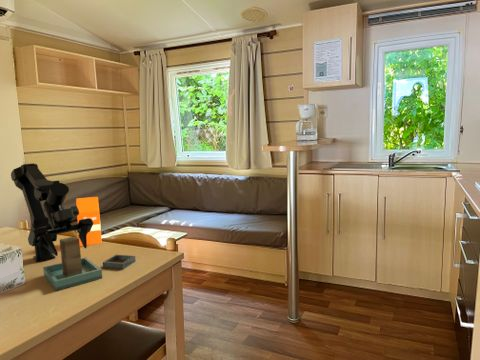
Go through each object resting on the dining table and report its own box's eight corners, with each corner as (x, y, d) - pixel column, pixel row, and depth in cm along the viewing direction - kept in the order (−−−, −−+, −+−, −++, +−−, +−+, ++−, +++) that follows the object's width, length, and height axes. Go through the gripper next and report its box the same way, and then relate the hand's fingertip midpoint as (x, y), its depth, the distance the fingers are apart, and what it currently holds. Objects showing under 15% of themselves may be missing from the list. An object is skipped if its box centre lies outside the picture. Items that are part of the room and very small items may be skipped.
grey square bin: (103, 267, 125) (102, 262, 124) (116, 259, 132) (116, 254, 132) (123, 269, 123) (122, 264, 122) (135, 261, 130) (135, 255, 130)
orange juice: (80, 241, 157) (76, 197, 154) (101, 238, 160) (98, 195, 157) (79, 246, 149) (75, 200, 147) (101, 243, 153) (98, 198, 150)
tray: (43, 275, 119) (43, 267, 119) (86, 264, 128) (86, 256, 127) (55, 291, 107) (54, 281, 106) (102, 278, 116) (101, 269, 115)
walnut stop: (63, 274, 117) (59, 239, 115) (76, 270, 120) (73, 236, 119) (68, 277, 114) (64, 242, 112) (82, 273, 117) (79, 238, 116)
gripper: (29, 204, 110) (45, 245, 104) (89, 195, 123) (105, 231, 117) (24, 224, 116) (39, 264, 110) (81, 213, 130) (97, 249, 124)
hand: (71, 251), depth 115 cm, fingers open, 9 cm apart
